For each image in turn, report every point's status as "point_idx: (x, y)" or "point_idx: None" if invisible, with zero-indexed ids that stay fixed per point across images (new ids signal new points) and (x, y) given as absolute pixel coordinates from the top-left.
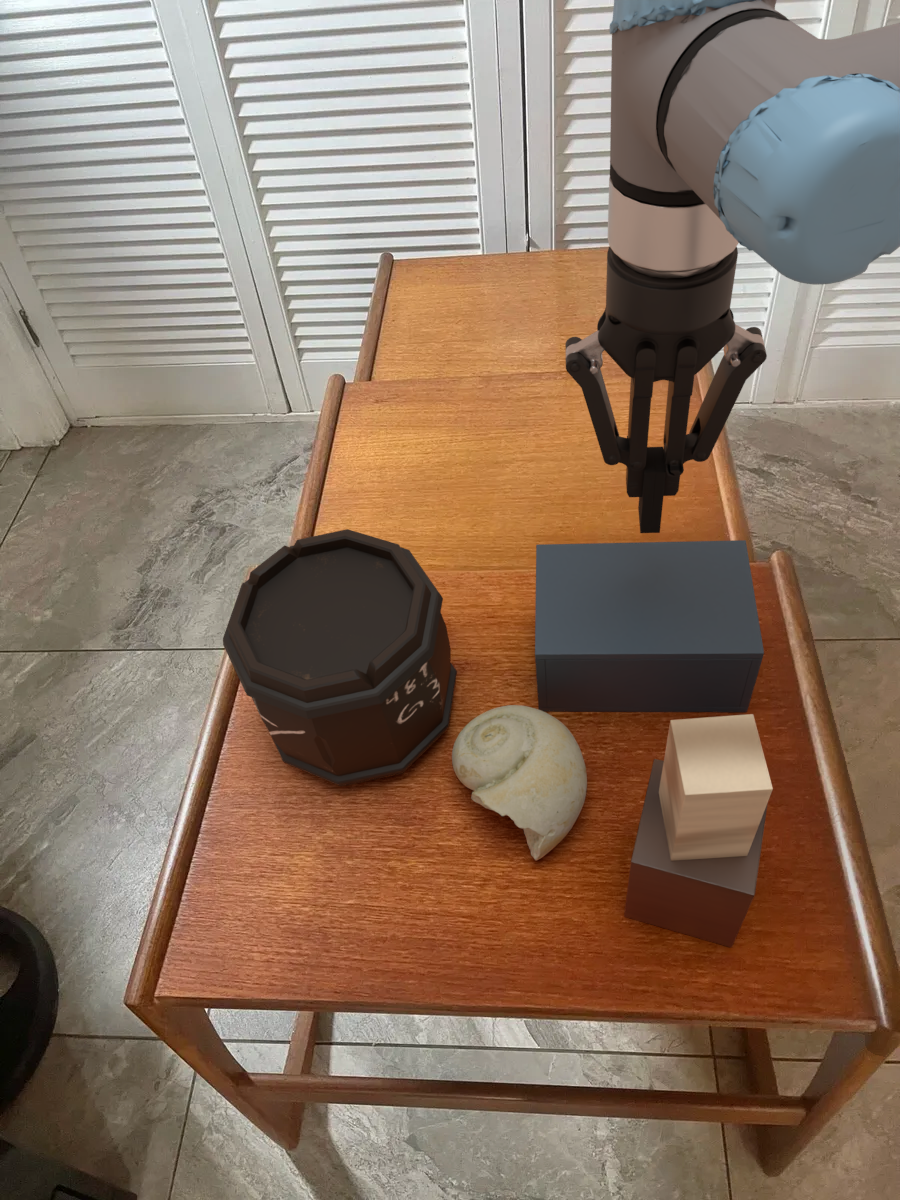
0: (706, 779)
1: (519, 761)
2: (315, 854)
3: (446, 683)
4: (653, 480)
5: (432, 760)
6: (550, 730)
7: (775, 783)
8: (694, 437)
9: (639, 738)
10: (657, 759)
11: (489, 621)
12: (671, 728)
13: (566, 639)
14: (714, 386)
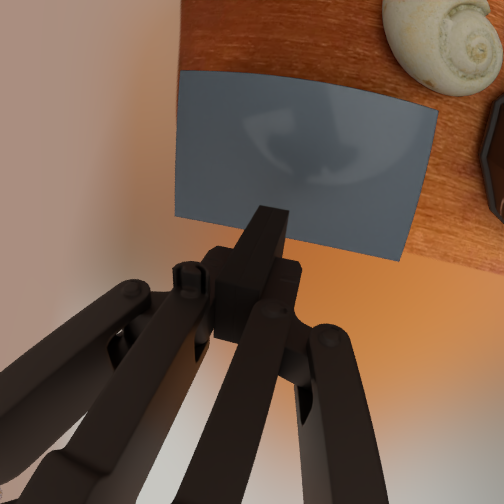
0: None
1: (454, 14)
2: None
3: (501, 133)
4: (246, 271)
5: (498, 86)
6: (423, 34)
7: (214, 10)
8: (139, 334)
9: (322, 56)
10: None
11: (431, 211)
12: None
13: (400, 120)
14: (47, 425)
